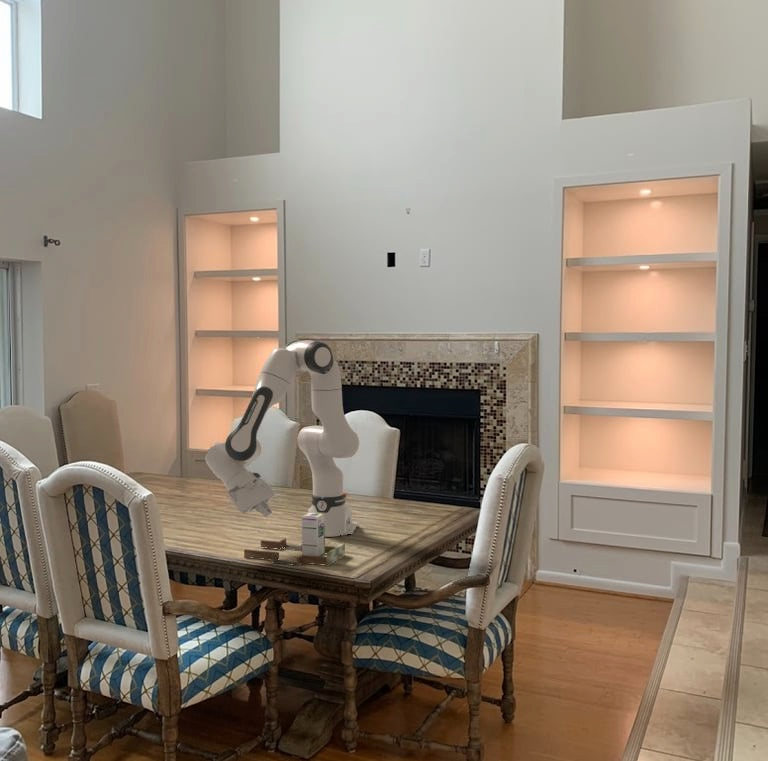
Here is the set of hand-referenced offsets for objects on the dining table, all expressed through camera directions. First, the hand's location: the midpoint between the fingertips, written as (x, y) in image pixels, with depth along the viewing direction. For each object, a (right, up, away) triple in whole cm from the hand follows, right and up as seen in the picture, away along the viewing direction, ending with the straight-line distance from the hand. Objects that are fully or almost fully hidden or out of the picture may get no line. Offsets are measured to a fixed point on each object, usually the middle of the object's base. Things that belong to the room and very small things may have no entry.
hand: (269, 514), depth 268 cm
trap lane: (+9, -13, -2) cm, 16 cm away
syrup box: (+15, -14, -5) cm, 21 cm away
